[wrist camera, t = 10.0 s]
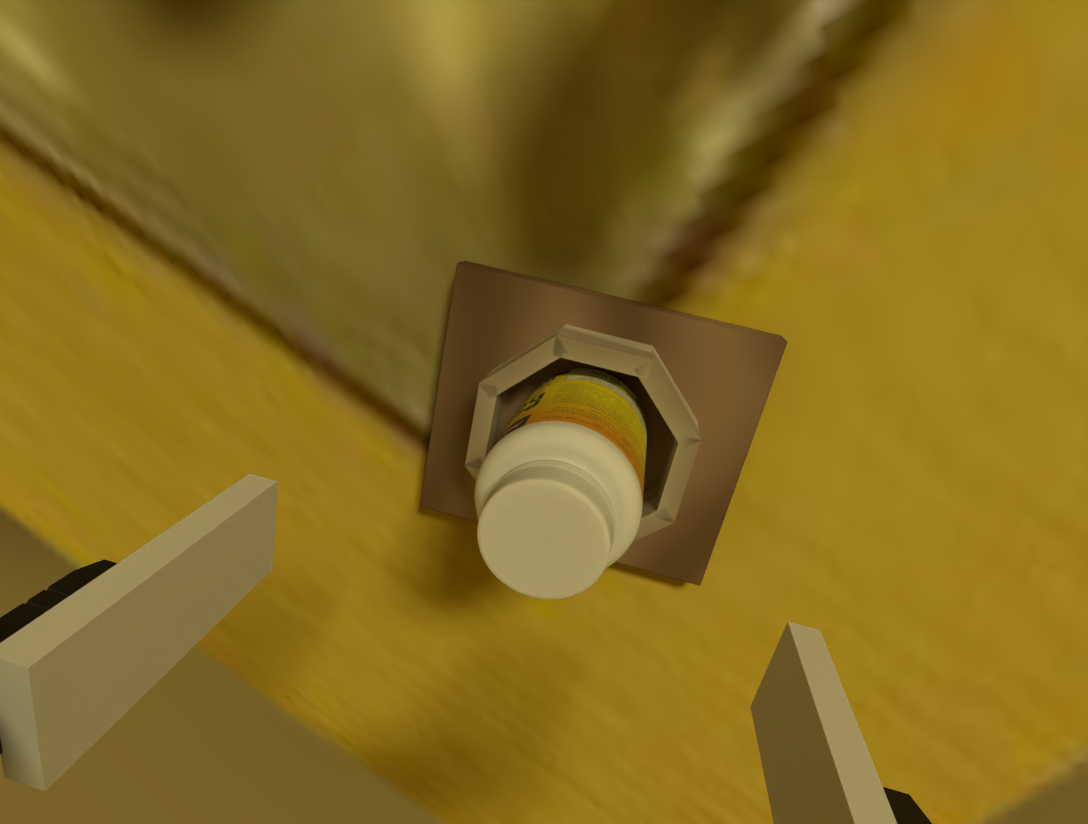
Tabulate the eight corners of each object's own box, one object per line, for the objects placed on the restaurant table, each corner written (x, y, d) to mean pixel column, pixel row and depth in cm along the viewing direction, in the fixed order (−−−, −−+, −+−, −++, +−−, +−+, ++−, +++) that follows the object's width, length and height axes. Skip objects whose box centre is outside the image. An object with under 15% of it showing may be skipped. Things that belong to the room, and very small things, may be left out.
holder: (428, 495, 31) (399, 531, 27) (465, 260, 27) (436, 268, 23) (698, 571, 29) (703, 619, 26) (781, 336, 25) (800, 355, 22)
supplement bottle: (551, 343, 26) (487, 419, 16) (669, 397, 26) (675, 505, 16) (505, 451, 28) (425, 575, 18) (615, 501, 28) (591, 653, 18)
